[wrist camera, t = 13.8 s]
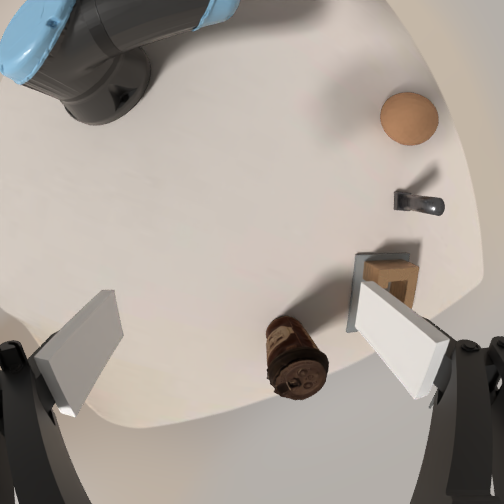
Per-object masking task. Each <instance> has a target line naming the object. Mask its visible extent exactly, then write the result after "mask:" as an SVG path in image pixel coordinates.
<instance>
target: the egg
mask: <svg viewBox="0 0 504 504" xmlns="http://www.w3.org/2000/svg"><path fill="white" fill-rule="evenodd" d="M380 119H381V124H382V126H383V129H384V131H385V132H386V133H387V135H388V136H389V137H390V138H392V139H393V140H394V141H396V142H398V143H400V144H403V145H417V144H421V143H423V142H425V141H427V140H428V139H429V138H430V137H431V136H432V135H433V134H434V133H435V131H436V129H437V126H438V113H437V110H436V108H435V107H434V105H433V104H432V103H431V101H429V100H428V99H427V98H425V97H423V96H421V95H419V94H415V93H410V92H405V93H399V94H396V95H394V96H392V97H390V98H389V99H388V100H387V101H386V102H385V104H384V105H383V107H382V110H381V114H380Z"/></svg>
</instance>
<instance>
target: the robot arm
mask: <svg viewBox="0 0 504 504" xmlns="http://www.w3.org/2000/svg"><path fill="white" fill-rule="evenodd" d="M239 2H240V0H27V1H26V2H25V3H24V4H23V5H22V6H21V7H20V9H19V10H18V11H17V13H16V14H15V15H14V17H13V18H12V20H11V21H10V23H9V25H8V26H7V28H6V30H5V32H4V34H3V36H2V39H1V41H0V72H1V73H2V74H3V75H4V76H6V77H8V78H10V79H12V80H14V82H15V83H17V84H20V85H23V86H26V87H29V88H31V89H34V90H36V91H39V92H42V93H44V94H47V95H49V96H52V97H54V98H56V99H59V100H60V101H61V103H62V104H63V105H64V106H65V109H66V110H67V112H68V113H69V115H70V116H71V117H73V118H74V119H75V120H77V121H80V122H82V123H85V124H88V125H103V124H107V123H110V122H112V121H115V120H117V119H118V118H120V117H122V116H123V115H124V114H126V113H127V112H128V111H129V110H131V109H132V108H133V107H134V106H135V104H136V103H137V102H138V101H139V99H140V98H141V97H142V95H143V93H144V92H145V90H146V87H147V85H148V82H149V79H150V71H151V69H150V62H149V59H148V57H147V55H146V54H145V52H144V51H143V49H142V48H141V46H143V45H146V44H149V43H152V42H155V41H158V40H161V39H164V38H167V37H170V36H173V35H177V34H180V33H184V32H188V31H196V30H198V29H200V28H201V27H205V26H209V25H212V24H216V23H220V22H224V21H226V20H228V19H229V18H230V17H231V16H232V15H233V14H234V13H235V11H236V10H237V8H238V5H239ZM355 328H356V329H357V330H358V331H359V332H360V333H361V335H362V336H363V337H364V338H365V339H366V341H367V342H368V343H369V344H370V345H371V347H372V348H373V349H374V350H375V351H376V353H377V354H378V355H379V356H380V357H381V358H382V360H383V361H384V362H385V363H386V365H387V366H388V367H389V368H390V370H391V371H392V372H393V373H394V374H395V376H396V377H397V378H398V380H399V381H400V382H401V383H402V384H403V386H404V387H405V388H406V389H407V391H408V392H409V393H410V394H411V396H412V397H413V398H414V400H416V399H418V398H421V397H424V396H426V395H428V394H429V392H430V390H431V388H432V385H433V383H434V384H435V386H436V387H438V389H437V391H436V393H435V395H434V397H433V399H432V401H431V403H430V406H429V408H431V406H432V405H433V404H434V406H433V413H432V419H431V425H430V431H429V436H428V441H427V446H426V450H425V455H424V459H423V463H422V467H421V470H420V474H419V477H418V480H417V484H416V487H415V490H414V493H413V496H412V499H411V502H410V504H504V337H503V336H501V337H499V336H497V337H494V338H492V340H491V343H490V346H489V348H481V347H480V346H479V345H478V344H477V343H475V342H473V341H470V340H459V341H456V340H454V339H453V338H452V337H450V336H449V335H448V334H447V333H445V332H444V331H443V330H440V328H439V327H438V326H435V324H433V323H432V322H431V321H430V320H428V319H426V318H424V317H421V316H420V315H418V314H417V313H416V312H414V311H413V310H412V309H410V308H409V307H408V306H406V305H405V304H404V303H402V302H401V301H400V300H398V299H397V298H396V297H394V296H393V295H392V294H390V293H389V292H387V291H386V290H385V289H383V288H382V287H381V286H379V285H378V284H376V283H375V282H374V281H368V282H361V287H360V295H359V303H358V310H357V316H356V322H355ZM123 336H124V334H123V330H122V326H121V321H120V317H119V312H118V307H117V302H116V297H115V291H114V290H102V291H100V292H99V293H98V294H97V295H96V296H95V297H94V298H93V299H92V300H91V301H90V302H88V303H87V304H86V305H85V306H84V307H83V308H82V309H81V310H80V311H79V312H78V313H77V314H76V315H75V316H74V317H73V318H72V319H71V320H70V321H69V322H67V323H66V324H65V325H64V326H63V327H62V328H61V329H60V330H59V331H57V332H56V333H54V334H52V335H51V336H50V337H49V338H48V339H47V340H46V342H44V343H43V344H42V345H41V347H39V348H38V349H37V350H36V351H35V352H34V353H33V354H32V355H31V356H30V357H29V358H28V359H27V358H26V355H25V353H24V350H23V348H22V345H21V343H20V342H19V341H14V340H13V341H7V342H4V343H2V344H1V345H0V366H1V368H2V370H0V504H15V497H14V487H15V491H16V495H17V498H18V502H19V504H92V503H91V502H90V500H89V498H88V496H87V494H86V492H85V490H84V488H83V486H82V484H81V482H80V480H79V478H78V476H77V473H76V471H75V469H74V466H73V464H72V462H71V459H70V457H69V454H68V452H67V449H66V446H65V444H64V441H63V438H62V435H61V432H60V429H59V426H58V423H57V419H56V416H55V413H54V412H53V410H52V407H53V405H54V404H55V403H56V405H57V406H58V408H59V410H60V412H61V413H63V414H66V415H70V416H73V417H76V416H77V414H78V413H79V411H80V409H81V407H82V405H83V403H84V402H85V400H86V398H87V396H88V394H89V393H90V391H91V389H92V387H93V386H94V384H95V382H96V380H97V379H98V377H99V375H100V374H101V372H102V370H103V369H104V367H105V365H106V364H107V362H108V360H109V359H110V357H111V355H112V354H113V352H114V350H115V349H116V347H117V346H118V344H119V342H120V341H121V339H122V338H123ZM500 378H502V385H501V387H500V389H498V388H497V384H498V382H499V380H500ZM491 477H493V484H494V492H495V496H492V495H491V494H490V488H491Z"/></svg>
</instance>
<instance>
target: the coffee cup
mask: <svg viewBox="0 0 504 504" xmlns="http://www.w3.org/2000/svg"><path fill="white" fill-rule="evenodd" d="M266 338H267V343H266V349H267V366H268V369H267V372H268V373H267V379H269V380H270V384H271V385H272V386H273V387H274V388H275V391H274V392H275V393H276V394H279V395H280V396H281V397H286V398H290V399H293V400H304V399H306V398H308V397H310V396H312V395H314V394H315V393H317V392H318V391H319V390H320V389H321V388H322V387H323V385H324V384H325V382H326V377H327V373H328V367H329V362H328V358H327V356H326V355H325V354H324V353H323V352H321V351H320V350H319V349H318V348H317V346H316V344H315V343H314V341H313V340H312V339H311V337H310V335H309V334H308V333H307V331H306V330H305V329H304V328H303V326H302V325H301V323H300V322H299V321H298V320H296V319H295V318H293V317H289V316H283V317H280V318H277V319H275V320H274V321H272V322H271V324H270V325H269V326H268V328H267V331H266Z"/></svg>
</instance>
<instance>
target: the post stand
mask: <svg viewBox="0 0 504 504" xmlns="http://www.w3.org/2000/svg"><path fill="white" fill-rule="evenodd" d="M444 209H445V204H444V201H443V200H442V199H441V198H436V197H428V196H418V195H411V193H403V192H394V210H403V211H410V210H412V211H417V212H422V213H427V214H432V215H437V216H440V215H442V214H443V212H444Z"/></svg>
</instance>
